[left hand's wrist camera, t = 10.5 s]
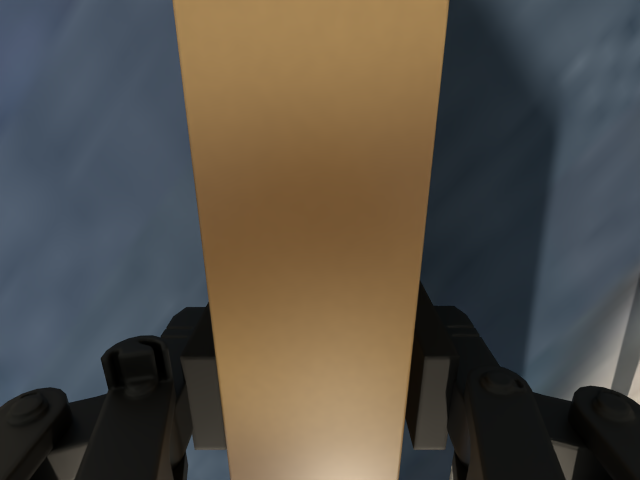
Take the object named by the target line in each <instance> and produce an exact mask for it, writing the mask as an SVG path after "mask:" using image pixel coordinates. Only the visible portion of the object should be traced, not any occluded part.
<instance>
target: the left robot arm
mask: <svg viewBox="0 0 640 480" xmlns="http://www.w3.org/2000/svg"><path fill="white" fill-rule="evenodd" d="M101 362H102V366H103V370H104V374H105V378H106V382H107V386H108V393H107V394H104V395H101V396H97V397H93V398H89V399H84V400H80V401H75V402H71V403H69V402H68V399H67V396H66V394H65V393H64V392H63V391H62V390H61V389H57V388H51V387H49V388H41V389H35V390H32V391H29V392H26V393H23V394H21V395H19V396H17V397H15V398H13V399H11V400H10V401H8V402H6V403H5V404H4V405H3V406H1V407H0V480H187V471H188V462H187V456H186V448H187V446H188V443H189V440H190V438H191V435H193V442H194V448H195V450H226V448H227V447H226V439H225V430H224V422H223V414H222V405H221V397H220V389H219V381H218V372H217V364H216V356H215V348H214V339H213V331H212V323H211V314H210V306H209V302H208V304H207V306H206V307H186V308H184V309H183V310H182V311H180V312H179V313H178V314H176V315H175V316H173V318H172V320H171V321H170V323H169V324H168V326H167V329H165V330H164V332H163V333H162V335H161V338H160V337H156V336H153V335H151V336H137V337H133V338H128V339H126V340H124V341H121V342H119V343H117V344H115V345H114V346H112V347H111V348H110V349H108V350H107V351H106V352H105V353H104V355H103V356H102V357H101ZM405 418H406V422H407V425H408V429H409V433H410V437H411V441H412V445H413V448H414V450H445V448H446V442H447V435H448V433H449V436H450V438H451V441H452V444H453V446H454V449H455V450H454V456H453V462H452V467H451V473H450V479H449V480H640V405H639V404H638V403H636V402H635V401H634V400H632V399H630V398H629V397H627V396H625V395H623V394H621V393H619V392H616V391H613V390H610V389H607V388H604V387H596V386H586V387H580V388H579V389H578V390H577V391H576V392H575V393H574V396H573V399H572V401H567V400H563V399H559V398H554V397H550V396H545V395H541V394H538V393H535V392H532V389H531V388H530V386H529V385H528V383H527V382H526V381H525V380H524V379H523V378H522V377H520V376H519V375H518V374H516V373H514V372H512V371H510V370H508V369H506V368H503V367H500V366H499V364H498V363H497V361H496V359H495V358H494V356H493V355H492V353H491V352H490V350H489V349H488V347H487V346H486V344H485V343H484V341H483V340H482V338H481V337H480V336H479V333H478V332H477V330H476V329H475V328H474V326H473V324H472V323H471V321H470V320H469V318H468V316H467V315H466V314H464V313H463V312H462V311H460V310H459V309H457V308H456V307H455V306H433V304H432V302H431V300H430V298H429V297H428V295H427V293H426V291H425V289H424V287H423V285H422V283H421V281H420V282H419V291H418V300H417V310H416V319H415V329H414V338H413V348H412V357H411V366H410V376H409V385H408V395H407V404H406V413H405Z"/></svg>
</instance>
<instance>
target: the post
mask: <svg viewBox="0 0 640 480" xmlns="http://www.w3.org/2000/svg"><path fill="white" fill-rule="evenodd" d="M173 8H174V17H175V25H176V33H177V41H178V50H179V58H180V66H181V75H182V83H183V91H184V99H185V108H186V116H187V124H188V132H189V141H190V149H191V157H192V166H193V174H194V182H195V190H196V199H197V207H198V215H199V223H200V232H201V240H202V248H203V257H204V265H205V273H206V281H207V290H208V298H209V306H210V314H211V323H212V331H213V339H214V348H215V356H216V364H217V372H218V381H219V389H220V397H221V405H222V414H223V422H224V430H225V439H226V447H227V455H228V463H229V472H230V480H398V479H399V470H400V461H401V451H402V442H403V432H404V423H405V413H406V404H407V395H408V385H409V376H410V366H411V357H412V348H413V338H414V329H415V319H416V310H417V300H418V291H419V282H420V272H421V263H422V253H423V244H424V235H425V225H426V216H427V206H428V197H429V187H430V178H431V169H432V159H433V150H434V140H435V131H436V122H437V112H438V103H439V93H440V84H441V74H442V65H443V56H444V46H445V37H446V27H447V18H448V9H449V0H173Z"/></svg>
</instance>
